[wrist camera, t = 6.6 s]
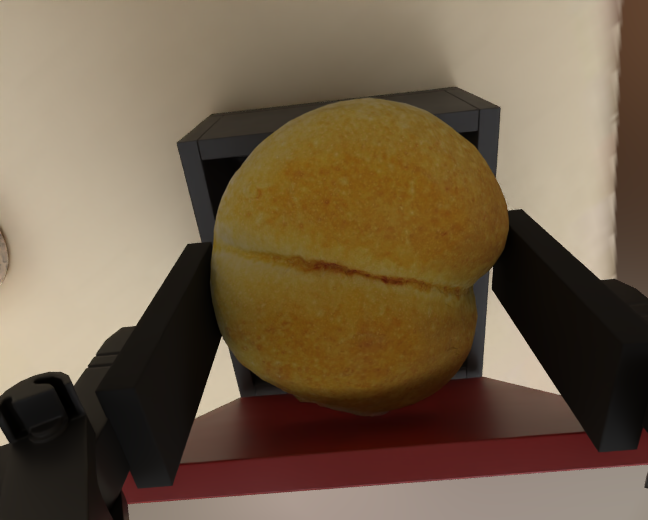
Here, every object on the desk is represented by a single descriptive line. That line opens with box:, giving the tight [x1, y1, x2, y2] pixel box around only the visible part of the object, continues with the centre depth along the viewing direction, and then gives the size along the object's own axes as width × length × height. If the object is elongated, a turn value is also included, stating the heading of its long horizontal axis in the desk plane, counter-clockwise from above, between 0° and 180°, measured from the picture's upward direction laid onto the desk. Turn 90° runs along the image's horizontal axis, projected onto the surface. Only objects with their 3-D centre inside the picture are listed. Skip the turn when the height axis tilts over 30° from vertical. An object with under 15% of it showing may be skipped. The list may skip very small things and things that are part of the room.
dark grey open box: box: [177, 87, 501, 397], centre depth 26 cm, size 15×14×7 cm
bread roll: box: [210, 98, 509, 417], centre depth 13 cm, size 8×9×4 cm
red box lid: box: [122, 377, 648, 504], centre depth 18 cm, size 16×14×1 cm
